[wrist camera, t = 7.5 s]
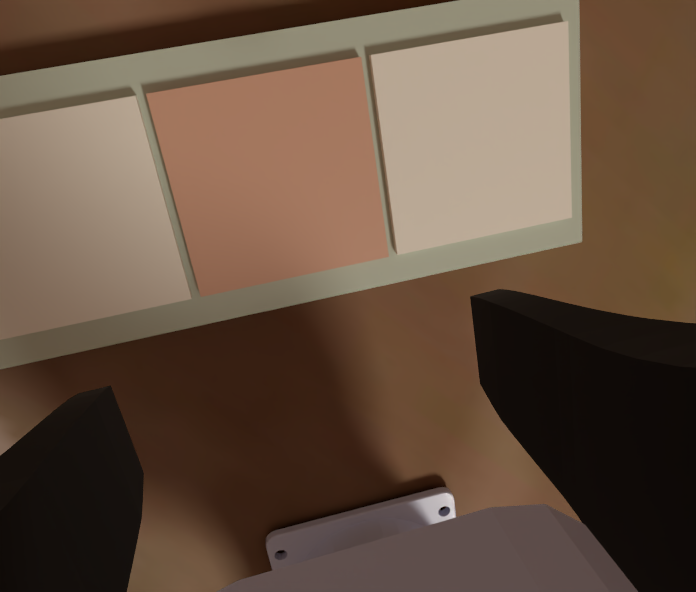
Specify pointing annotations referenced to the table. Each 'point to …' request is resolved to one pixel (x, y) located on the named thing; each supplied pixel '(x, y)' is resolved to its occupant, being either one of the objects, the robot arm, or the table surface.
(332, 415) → the table surface
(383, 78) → the board
